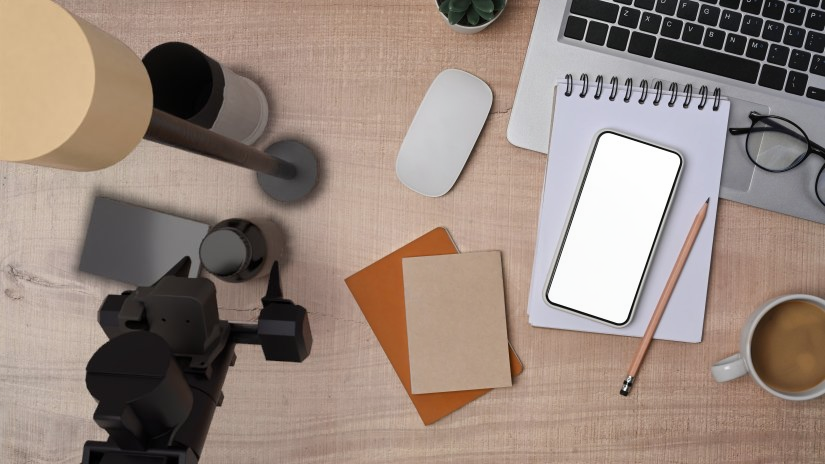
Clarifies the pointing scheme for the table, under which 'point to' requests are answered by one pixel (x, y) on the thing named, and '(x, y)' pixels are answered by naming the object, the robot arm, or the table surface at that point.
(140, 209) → the slate tile
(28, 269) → the table surface
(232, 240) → the supplement bottle
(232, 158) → the desk lamp
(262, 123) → the glass holder
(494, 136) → the table surface
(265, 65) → the table surface
